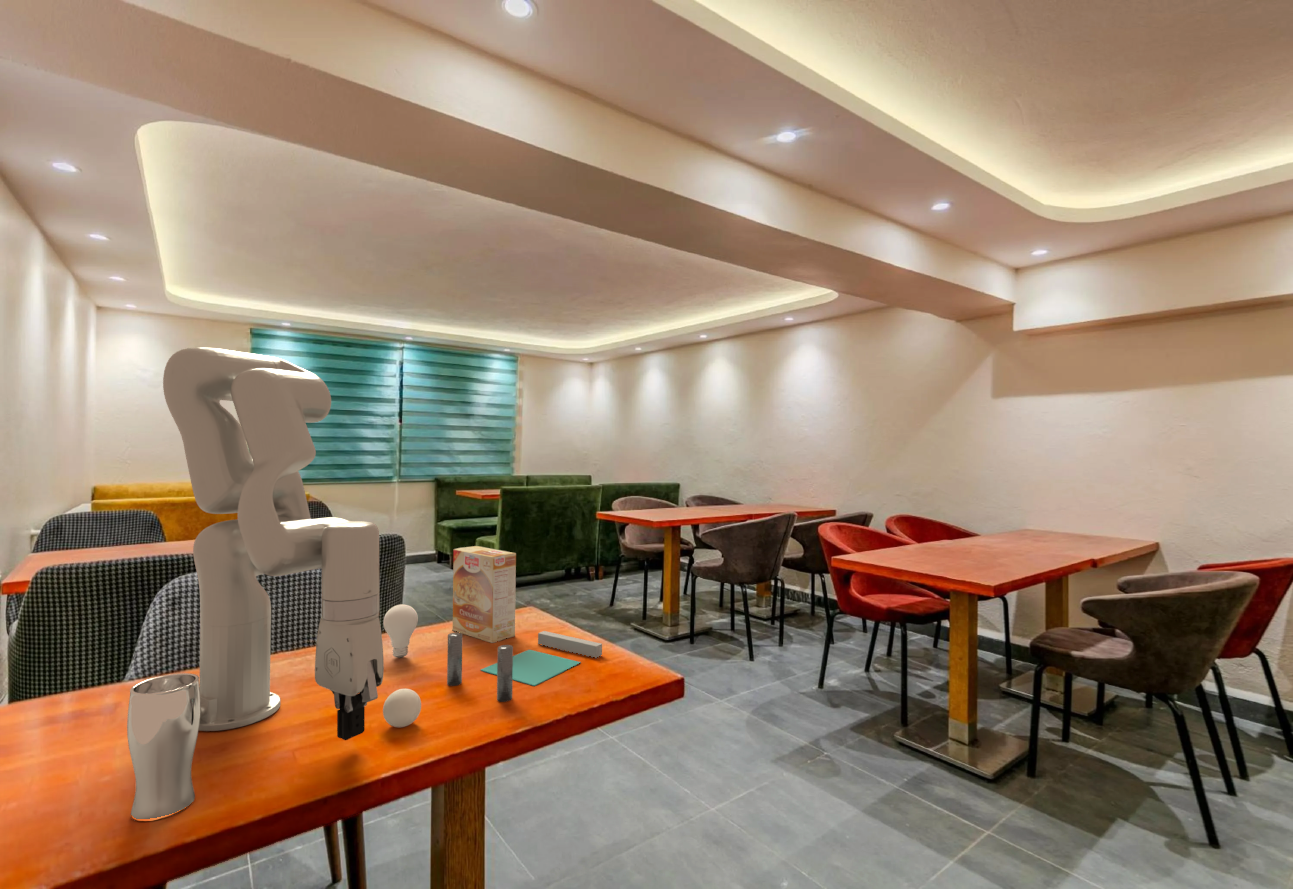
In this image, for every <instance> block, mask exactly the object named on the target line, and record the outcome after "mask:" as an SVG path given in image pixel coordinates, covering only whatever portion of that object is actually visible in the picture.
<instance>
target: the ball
mask: <svg viewBox="0 0 1293 889" xmlns="http://www.w3.org/2000/svg"><path fill="white" fill-rule="evenodd" d="M421 711H422V701H421V698H420V696H419V693H417V692H416V691H415V690H412V689H410V688H400V689H396V690H395V691H393V692H392V693H390V694H389V695H388V696H387V698H386V699H385V701H384V703H383V707H382V716H383V718H384V720H385V722H386V723H388V725H390V726H392V727H394V728H406V727H408V726H410V725H411V724H413V723H414V722H415V721H416V720H417V718H418V717H419V715H420V714H421Z"/></svg>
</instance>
